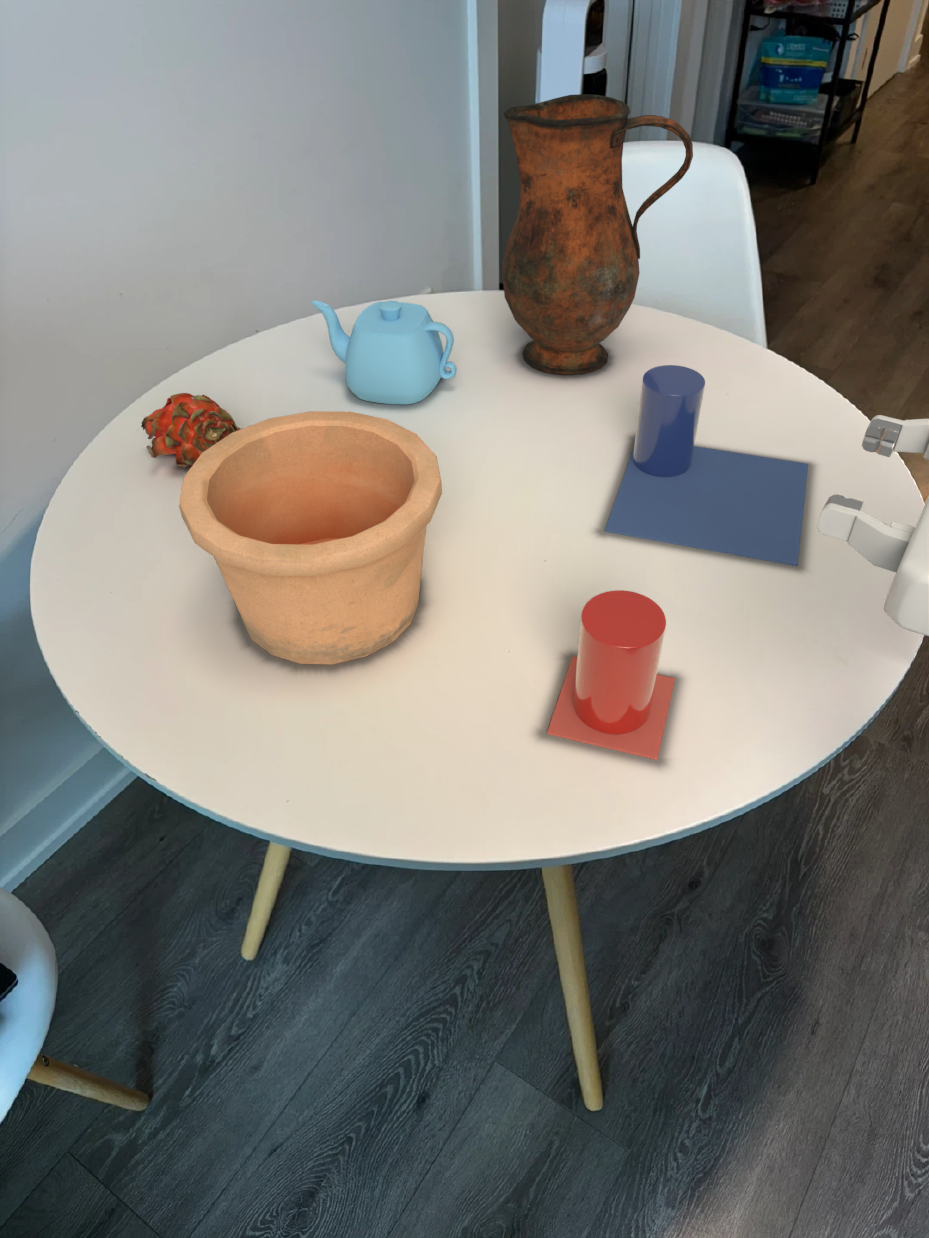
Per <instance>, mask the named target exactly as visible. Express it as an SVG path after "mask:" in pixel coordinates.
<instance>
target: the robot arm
mask: <svg viewBox="0 0 929 1238" xmlns="http://www.w3.org/2000/svg"><path fill="white" fill-rule="evenodd" d="M861 447H862V449H863V450H864V451H866V452H869V453H876V454H877V455H879V456H883V457H887V458H890V457H891V456H892V454H893V452H895V453H912V454H924V455H923V459H924V460H927V461H929V418H916V419H915V418H913V419H904V420H902V419H898V418H894V417H890V416H886V415H882V414H877V415H875V416H873V417H872V419H871V420H870V422H869V424H868V426H867V428H866V430H865V432H864V436H863V439H862V443H861ZM863 504H864V501H862V500H859V499H854V498H851V497H849V498H847V497H845V496H843V495H841V494H838V493H837V494H832V495H830V496H829V497H828V499H827V500H826V501H825V504H824V506H823V507H822V509H821V511H820V514H819V518H818V521H817V523H816V529H817V532H819V534H821V535H824V536H827V537H830V538H834V539H837V540H840V541H843V542H846V543H847V545H849V547H851V548H852V549H854V551H856V552H857V553H858V554H860V556H862V557H863V558H864V559H865V560H867V562H869V563H870V564H871V565H873V566H874V567H877V568H879V569H884V570H886V571H889V572H893V573H895V575H894V577H893V579H892V582H891V584H890V587H889V589H888V592H887V595H886V597H885V599H884V603H883V607H882V610H883V612H884V613H885V614H886V615H887V616H888V617H889V618H890V619H891V621H893V622H894V623H895V624H896V625H897V626H899V627H900V628H902V629H904V630H907V631H909V632H913V633H916V634H919V635H923V636H925V637H926V636H927V637H929V495H928V496H927V498H926V501H925V503H924V506H923V508H922V510H921V512H920V515H919V517H918V520H917V522H916V525H915V526H912V525H909V524H905V523H902V522H899V521H895V520H893V521H891V523H890V525H887V524H886V523H884V522H882V521H880V520H879V519H877V518H875V517H874V516H873V515H870V514H869V513H867V512H866V511H864V510H863V509H862V508H863Z"/></svg>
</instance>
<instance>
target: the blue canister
mask: <svg viewBox="0 0 929 1238" xmlns="http://www.w3.org/2000/svg"><path fill="white" fill-rule="evenodd" d="M705 387H706V380H705V377H704V376H703V375H702V374H701V373H700V372H698V371H697V370H695V369H693V368H690V367H687V366H683V365H674V364H666V365H665V364H664V365H659V366H655V367H652V368H650V369H648V370H647V371H645V373H644V374H643V376H642V381H641V390H640V396H639V397H640V398H639V406H638V414H637V422H636V430H635V436H634V445H633V448H634V453H633V462H634V464H635V465H636V467H637V468H638V469H640V470H641V471H643V472H645V473H647V474H650V475H653V476H658V477H673V476H677V475H680V474H683V473H684V472H686V471H687V470H688V469H689V468H690V466H691V461H692V455H693V450H694V446H695V443H696V438H697V434H698V433H697V432H698V427H699V422H700V421H699V420H700V415H701V410H702V405H703V404H702V403H703V399H704V393H705Z"/></svg>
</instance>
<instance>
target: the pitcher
mask: <svg viewBox="0 0 929 1238" xmlns="http://www.w3.org/2000/svg"><path fill="white" fill-rule="evenodd" d="M630 113H631V109H630V106H629V105H628V104H626V103H625V102H624V101H622V100H620V99H616V98H614V97H610V96H605V95H601V94H588V93H580V94H567V95H564V96H559V97H555V98H551V99H548V100H544V101H540V102H537V103H533V104H526V105H524V104H523V105H518V106H512V107H510V108H508V109H506V110H505V111H503V113H502V114H503V116H504V118H505V119H506V122H507V126H508V128H509V132H510V135H511V138H512V143H513V147H514V152H515V156H516V161H517V170H518V178H519V187H520V191H519V192H520V194H519V205H518V211H517V218H516V220H515V222H514V225H513V227H512V229H511V232H510V233H509V236H508V238H507V242H506V248H505V252H504V256H503V260H502V267H501V275H502V284H503V286H502V287H503V294H504V300H505V301H506V304H507V306H508V308H509V311H510V312H511V315H512V317H513V319H514V321H515V322H516V323H517V324H518V326H519V327H520V328H521V329H522V330H523V331H524V332H525V333H526V334H527V335H528V336H529V338H531V339H532V341H531V342H528V343H527V344H526V345H525V347H524V348H523V351H522V358H523V361H524V363H525V364H527V365H528V366H529V367H531V368H532V369H534V370H536V371H539V372H542V373H545V374H548V375H555V376H581V375H586V374H591V373H593V372H595V371H598V370H601V369H602V368H603V367H604V366H606V364H607V363H608V358H609V353H608V351H607V349H606V348H605V347H604V346H603V345H601V344H600V343H602V342H603V341H605V339H607V338H608V337H609V336H610V335H611V334H612V333H614V332H615V330H617V329H618V328H619V326H620V325H621V323H622V322H623V320H624V318H625V317H626V315H627V313H628V312H629V310H630V309H631V306H632V305H633V302H634V300H635V296H636V292H637V287H638V283H639V277H640V259H641V246H640V242H639V237H638V232H637V231H638V223H639V221H640V218H641V217H642V216H643V214H644V213H646V211H647V210H648V209H649V208H650V207H651V206H652V205H653V204H654V203H655V202H657V201H658V200H659V199H661V198H662V196H664V195H666V193H668V192H669V191H670V190H671V189H672V188H673V187H674V186H676V184H678V183H679V182H680V181H681V180H682V179H683V178H684V176H685V175H686V174H687V172H689V171H688V170H689V169H690V168H691V164H692V161H693V158H694V146H693V142H692V139H691V136H690V134H689V133H688V131H687V130H686V129H685V128H684V127H683V126H682V125H681V124H679V123H678V122H677V121H676V120H674V119H671V118H668V117H666V116H661V115H656V114H654V115H653V114H645V115H640V116H633V117H629V115H630ZM641 127H655V128H661V129H664V130H666V131H669V132H671V133H673V134H674V135H676V136H677V137H678V138H679V139H680V141H682V144H683V146H684V148H685V157H684V161H683V163H682V164H681V166H680V167H679V169H678V170H677V172H675V173H674V174H673V175H672V176H671V177H670V178H669V179H668V180H667V181H666V182H664V183H663V184H662V185H661V186H659V187H658V188H657V189H656V190H655V191H653V192H652V193H651V194H650V195H649V196H648V197H647V198H646V199H645V200H643V202H642V204H641V205H640V207H639V208H638V210H636V212H635V216H634V219H633V223H632V220H631V215H630V212H629V208H628V205H627V200H626V196H625V193H624V188H623V151H624V142H625V139H626V134H627V131H628V130H632V129H635V128H641Z"/></svg>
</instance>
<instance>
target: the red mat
mask: <svg viewBox="0 0 929 1238" xmlns="http://www.w3.org/2000/svg"><path fill="white" fill-rule="evenodd" d="M577 657H578V656H575V655H574V656H572V657H571V660H570V663H569V665H568V669H567V672H566V675H565V677H564V681H563V683H562V686H561V689H560V692H559V696H558V699H557V701H556V704H555V706H554V709H553V710H554V711H553V714H552V716H551V719H550V722H549V726H548V729H547V731H546V734H547V735H549V736H554V737H557V738H562V739H567V740H571V741H576V742H579V743H583V744H588V745H591V746H595V747H600V748H603V749H609V750H613V751H616V752H620V753H621V752H622V753H626V754H630V755H634V756H639V757H641V758H642V757H643V758H647V759H650V760H651V759H652V760H656V761H658V759H659V754H660V750H661V746H662V741H663V736H664V732H665V727H666V722H667V717H668V713H669V709H670V705H671V700H672V695H673V690H674V686H675V682H676V678H675V677H671V676H667V675H663V674H658V673H657V678H656V683H655V689H654V694H653V700H652V705H651V711H650V715H649V717H648V719H647V721H646V722H645V723H644V724H643V725H642V726H641V727H639V728H638V729H636V730H634V731H632V732H628V733H624V734H607V733H602V732H599V731H597V730H594V729H592V728H590V727H589V726H587V725H586V724H585V723H584V722H582V721H581V719H580V718H579V717H578V715H577V714H576V712H575V709H574V703H573V701H574V690H575V679H576V668H577Z"/></svg>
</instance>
